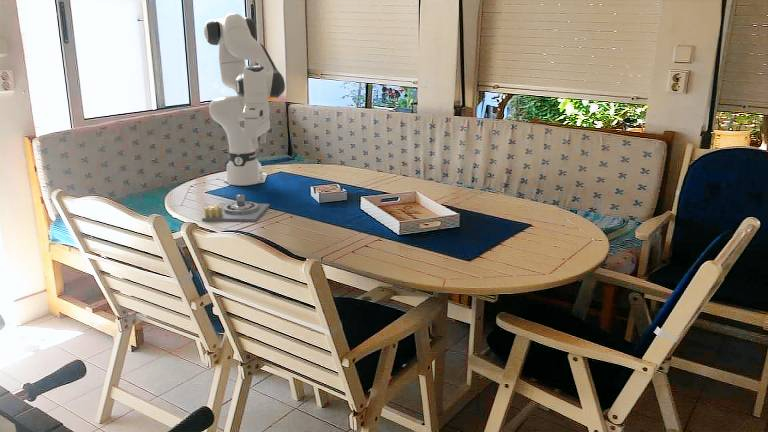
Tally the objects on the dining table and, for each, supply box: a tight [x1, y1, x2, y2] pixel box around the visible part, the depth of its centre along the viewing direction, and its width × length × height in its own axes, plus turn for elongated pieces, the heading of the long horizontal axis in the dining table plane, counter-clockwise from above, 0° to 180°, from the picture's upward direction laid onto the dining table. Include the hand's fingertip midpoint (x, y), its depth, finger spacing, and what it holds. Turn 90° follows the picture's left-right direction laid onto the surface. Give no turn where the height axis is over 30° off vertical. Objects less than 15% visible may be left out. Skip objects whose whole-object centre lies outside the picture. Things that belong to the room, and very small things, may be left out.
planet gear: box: [230, 193, 252, 210], centre depth 242 cm, size 8×8×6 cm
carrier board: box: [201, 201, 271, 223], centre depth 241 cm, size 20×20×4 cm
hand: (259, 145), depth 242 cm, fingers open, 8 cm apart
